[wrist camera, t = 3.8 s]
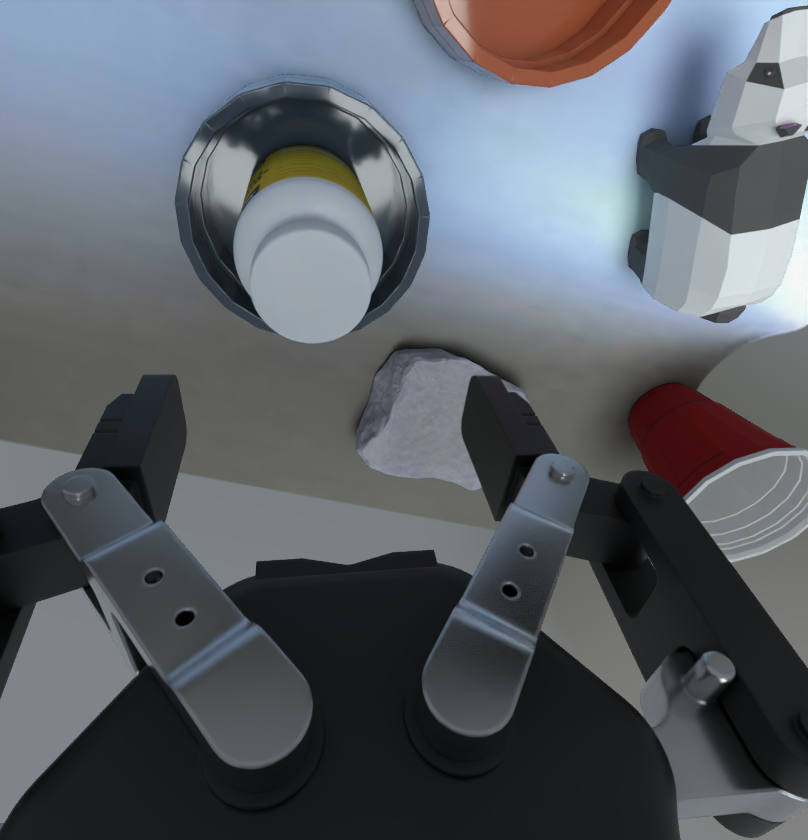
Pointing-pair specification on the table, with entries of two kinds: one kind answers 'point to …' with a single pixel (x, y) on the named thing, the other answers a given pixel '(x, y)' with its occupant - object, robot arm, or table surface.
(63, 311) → the table surface
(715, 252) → the giant panda
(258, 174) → the pill bottle
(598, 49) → the terracotta bowl
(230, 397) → the table surface
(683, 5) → the table surface
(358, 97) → the metal bowl
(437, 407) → the stone block
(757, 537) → the plastic cup
